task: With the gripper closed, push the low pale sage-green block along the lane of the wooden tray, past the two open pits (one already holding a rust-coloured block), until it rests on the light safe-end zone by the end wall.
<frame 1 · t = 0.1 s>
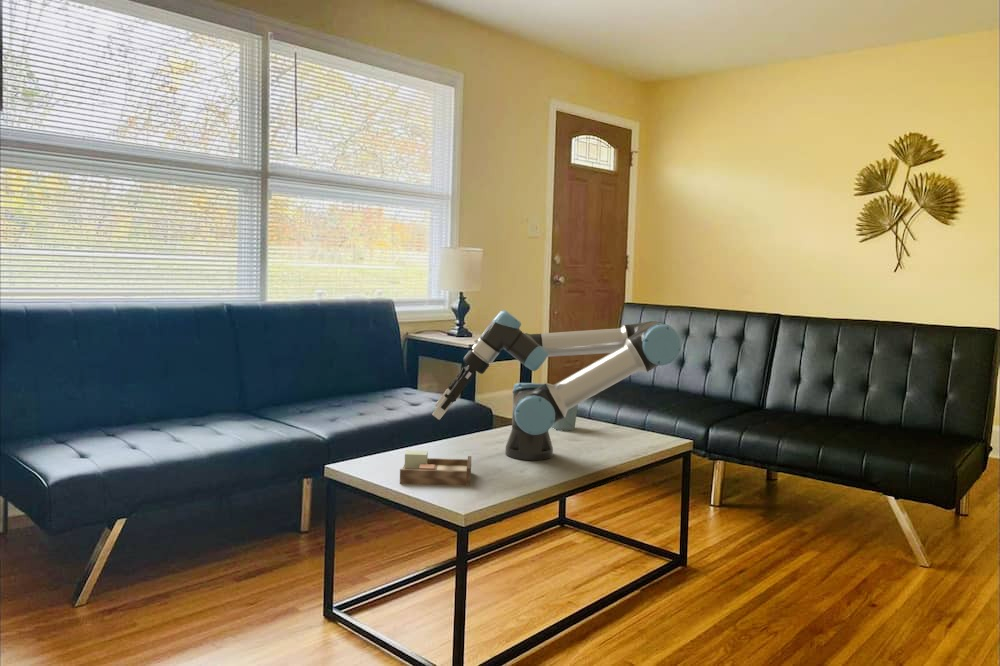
hand: (436, 412, 231), 15 cm above the table, tool tilted 35°, fingers open, 13 cm apart
grey-blue cup: (563, 429, 286), on the table
rust block: (426, 480, 213), resting on wooden tray
sage block: (416, 466, 218), point 2 cm above the table, touching wooden tray
wooden tray: (436, 478, 216), on the table
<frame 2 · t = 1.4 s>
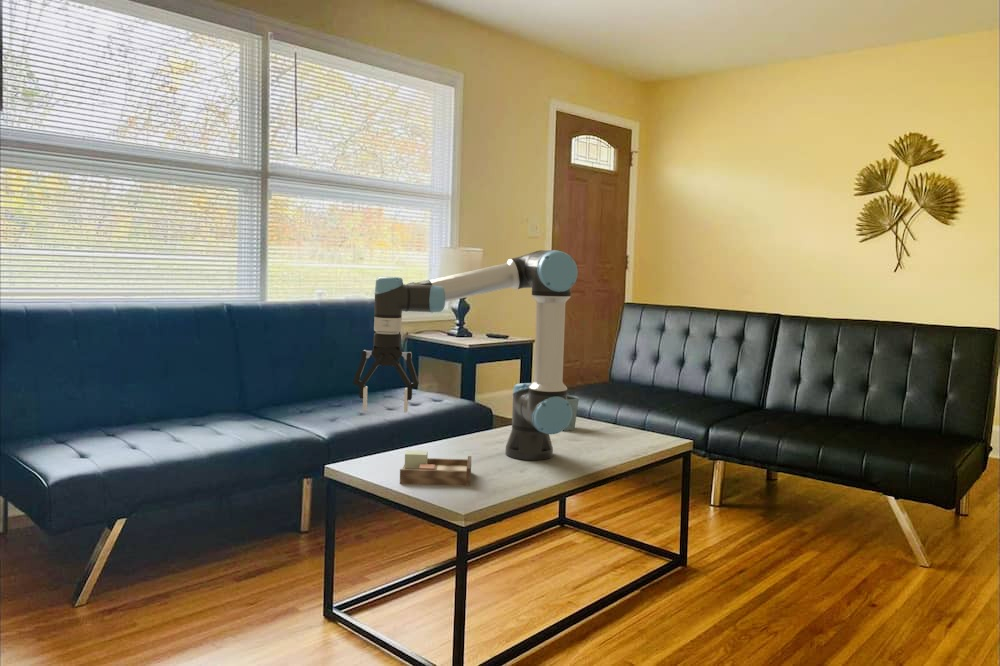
hand: (385, 410, 217), 18 cm above the table, tool pointing down, fingers open, 11 cm apart
nothing on the table moved.
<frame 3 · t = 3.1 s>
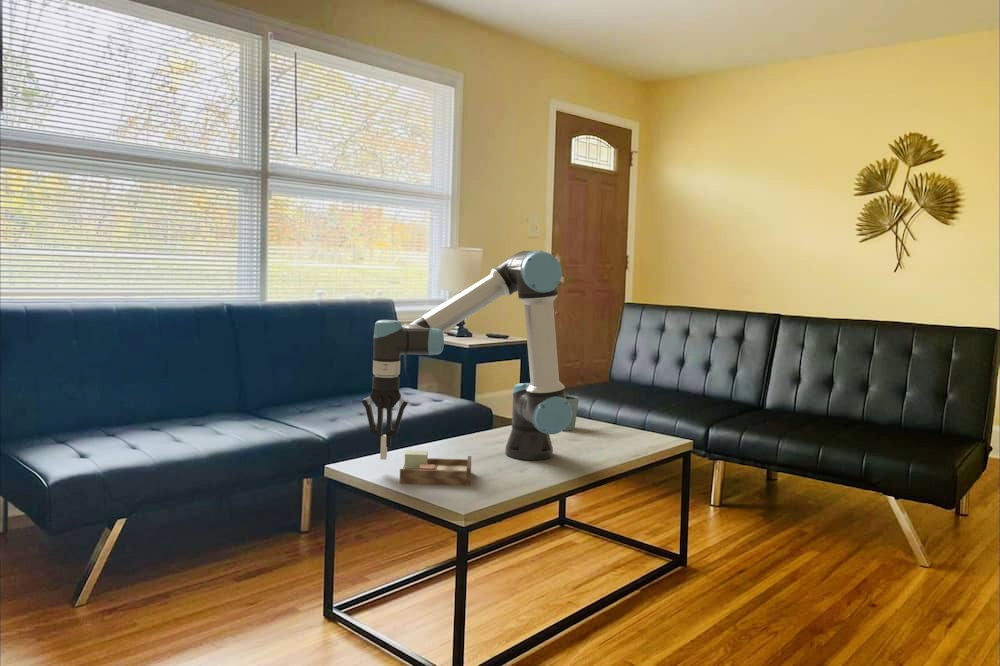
hand: (383, 458, 218), 5 cm above the table, tool pointing down, fingers closed
nothing on the table moved.
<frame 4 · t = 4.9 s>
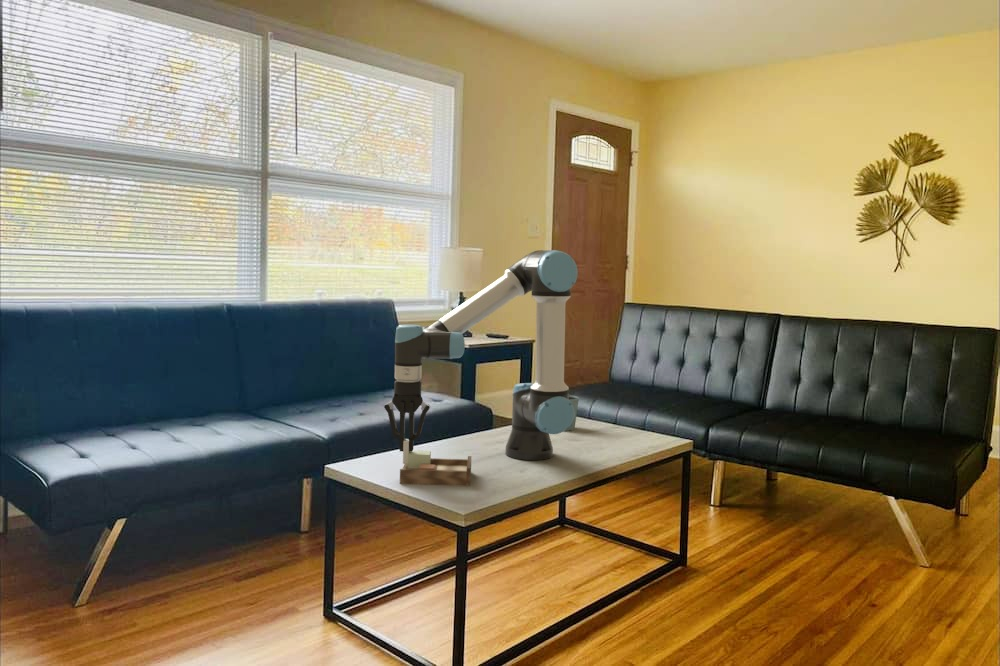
hand: (406, 462, 218), 4 cm above the table, tool pointing down, fingers closed
sage block: (419, 466, 218), point 3 cm above the table, touching gripper, wooden tray
everything else where it was.
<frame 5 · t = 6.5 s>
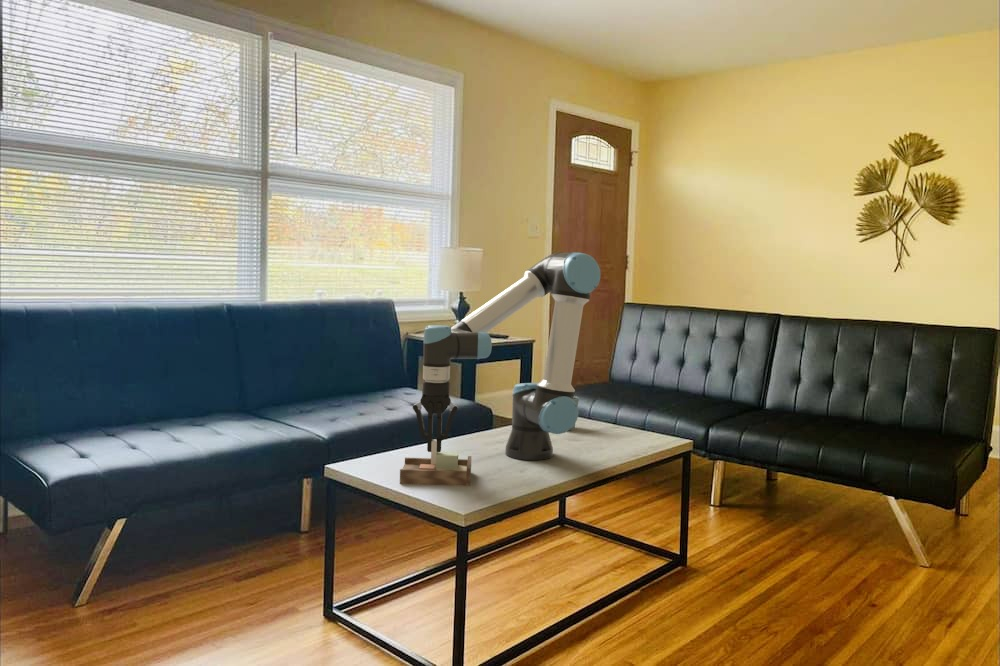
hand: (433, 463, 218), 4 cm above the table, tool pointing down, fingers closed
sage block: (446, 467, 218), point 3 cm above the table, touching gripper, wooden tray
everything else where it was.
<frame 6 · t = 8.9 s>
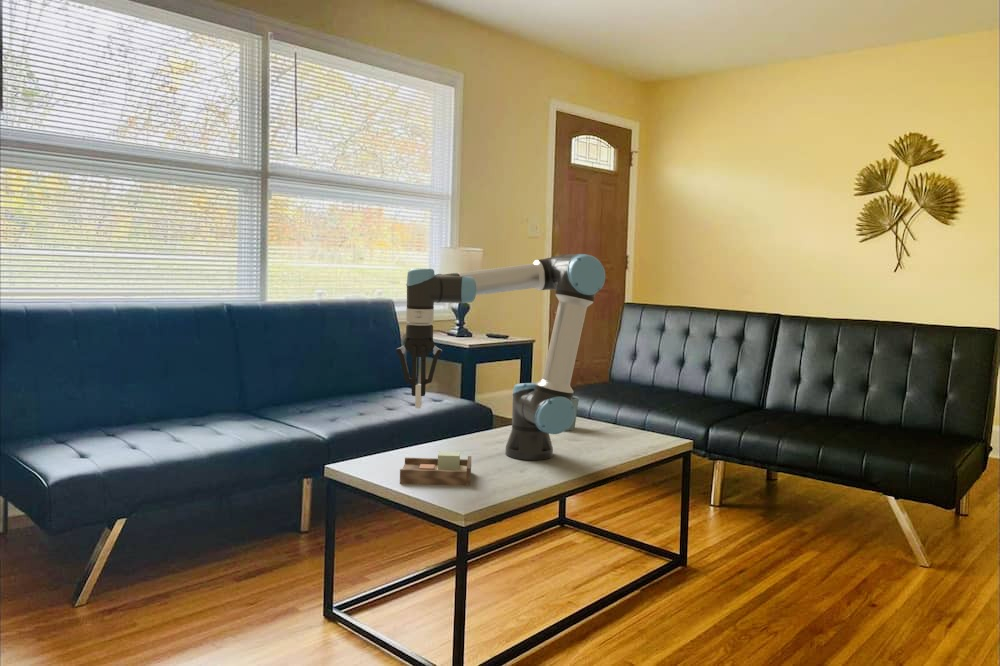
hand: (418, 407, 217), 19 cm above the table, tool pointing down, fingers closed
sage block: (448, 467, 218), point 2 cm above the table, touching wooden tray
everything else where it was.
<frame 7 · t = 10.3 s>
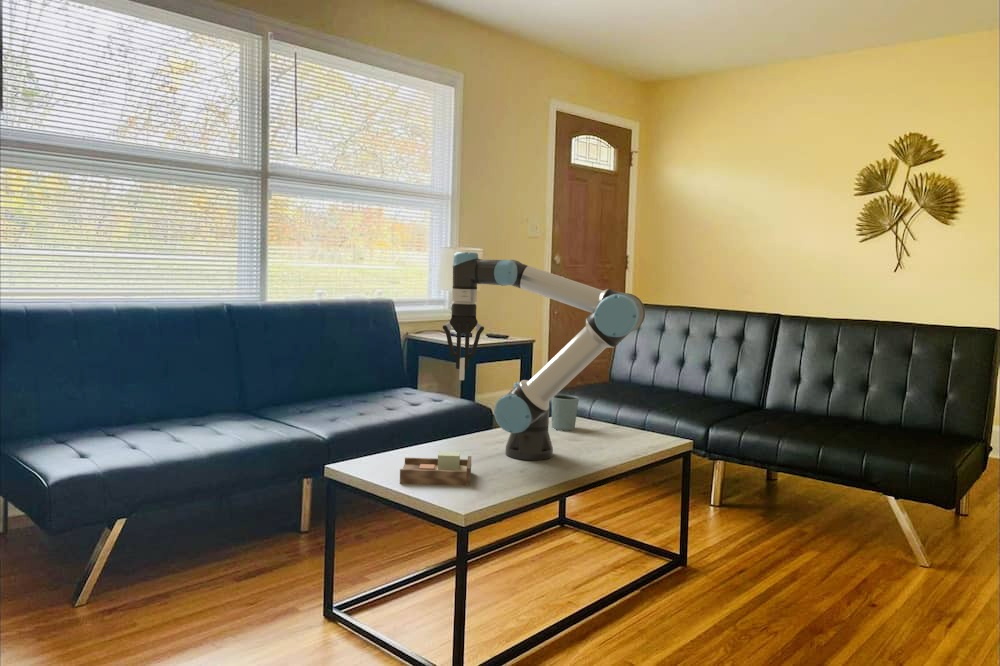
hand: (461, 379, 237), 24 cm above the table, tool pointing down, fingers closed
nothing on the table moved.
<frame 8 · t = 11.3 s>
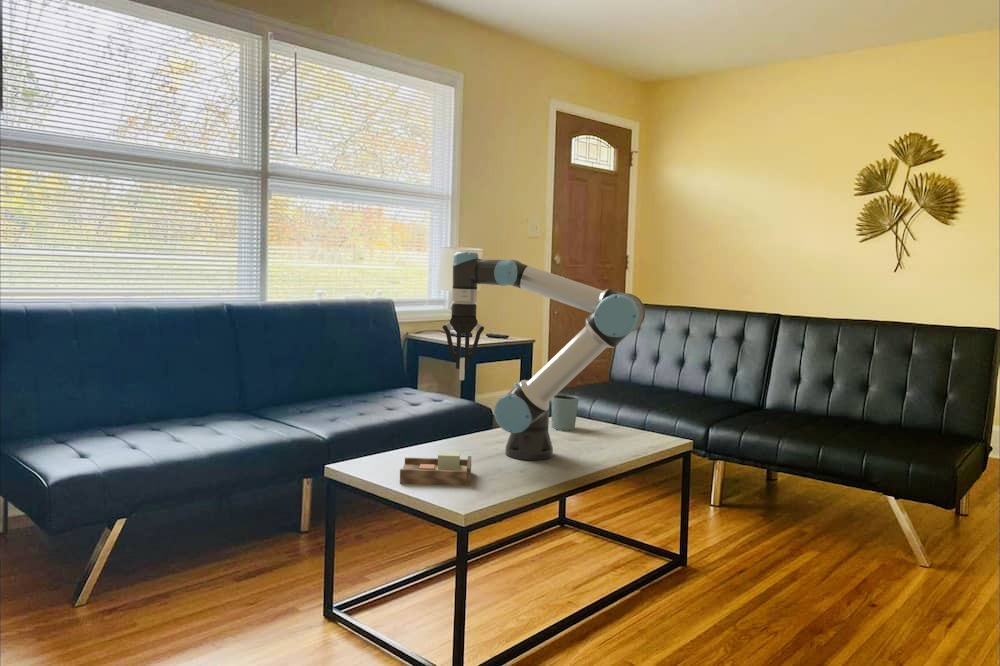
hand: (461, 379, 237), 24 cm above the table, tool pointing down, fingers closed
nothing on the table moved.
at the end: sage block 1.8 cm from the target spot, point 2.5 cm above the table; sage block tilted 0°; sage block touching wooden tray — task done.
